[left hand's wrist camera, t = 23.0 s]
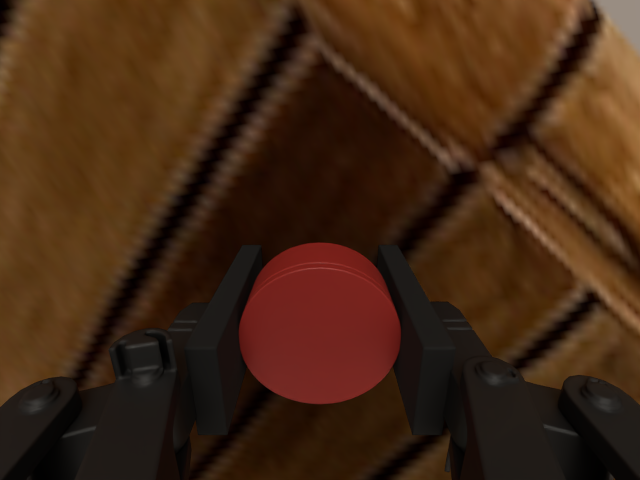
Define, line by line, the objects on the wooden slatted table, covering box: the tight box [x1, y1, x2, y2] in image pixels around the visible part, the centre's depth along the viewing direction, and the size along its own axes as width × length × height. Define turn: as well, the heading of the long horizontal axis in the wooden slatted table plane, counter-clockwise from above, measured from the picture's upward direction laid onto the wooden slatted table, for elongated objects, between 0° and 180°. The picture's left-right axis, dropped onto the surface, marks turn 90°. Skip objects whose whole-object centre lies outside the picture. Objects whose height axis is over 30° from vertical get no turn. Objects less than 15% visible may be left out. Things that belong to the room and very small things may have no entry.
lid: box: [239, 243, 401, 404], centre depth 11 cm, size 5×5×2 cm
